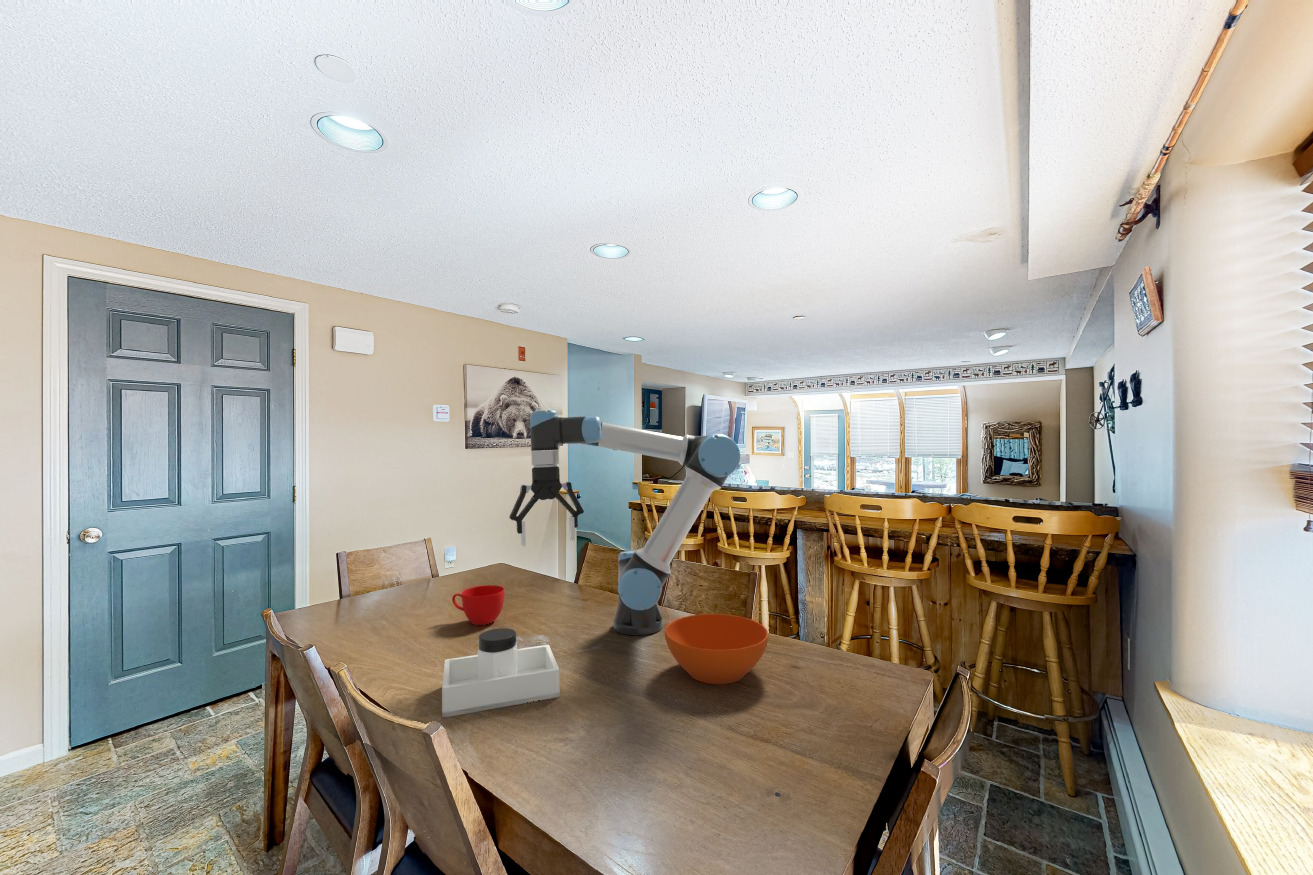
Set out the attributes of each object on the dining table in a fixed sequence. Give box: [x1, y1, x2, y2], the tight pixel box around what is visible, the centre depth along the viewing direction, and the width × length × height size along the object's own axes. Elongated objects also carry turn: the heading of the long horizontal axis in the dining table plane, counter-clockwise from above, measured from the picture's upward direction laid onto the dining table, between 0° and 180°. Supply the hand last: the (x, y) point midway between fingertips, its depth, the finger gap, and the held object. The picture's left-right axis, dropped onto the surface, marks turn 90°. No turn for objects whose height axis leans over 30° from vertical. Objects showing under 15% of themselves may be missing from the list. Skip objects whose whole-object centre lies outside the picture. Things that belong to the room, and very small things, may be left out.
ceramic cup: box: [451, 584, 505, 626], centre depth 165 cm, size 13×17×10 cm
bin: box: [441, 644, 561, 719], centre depth 117 cm, size 24×16×6 cm, turn 110°
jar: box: [477, 627, 518, 681], centre depth 117 cm, size 9×8×12 cm
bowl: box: [664, 613, 769, 685], centre depth 126 cm, size 25×25×10 cm
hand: (548, 542), depth 144 cm, fingers open, 13 cm apart
